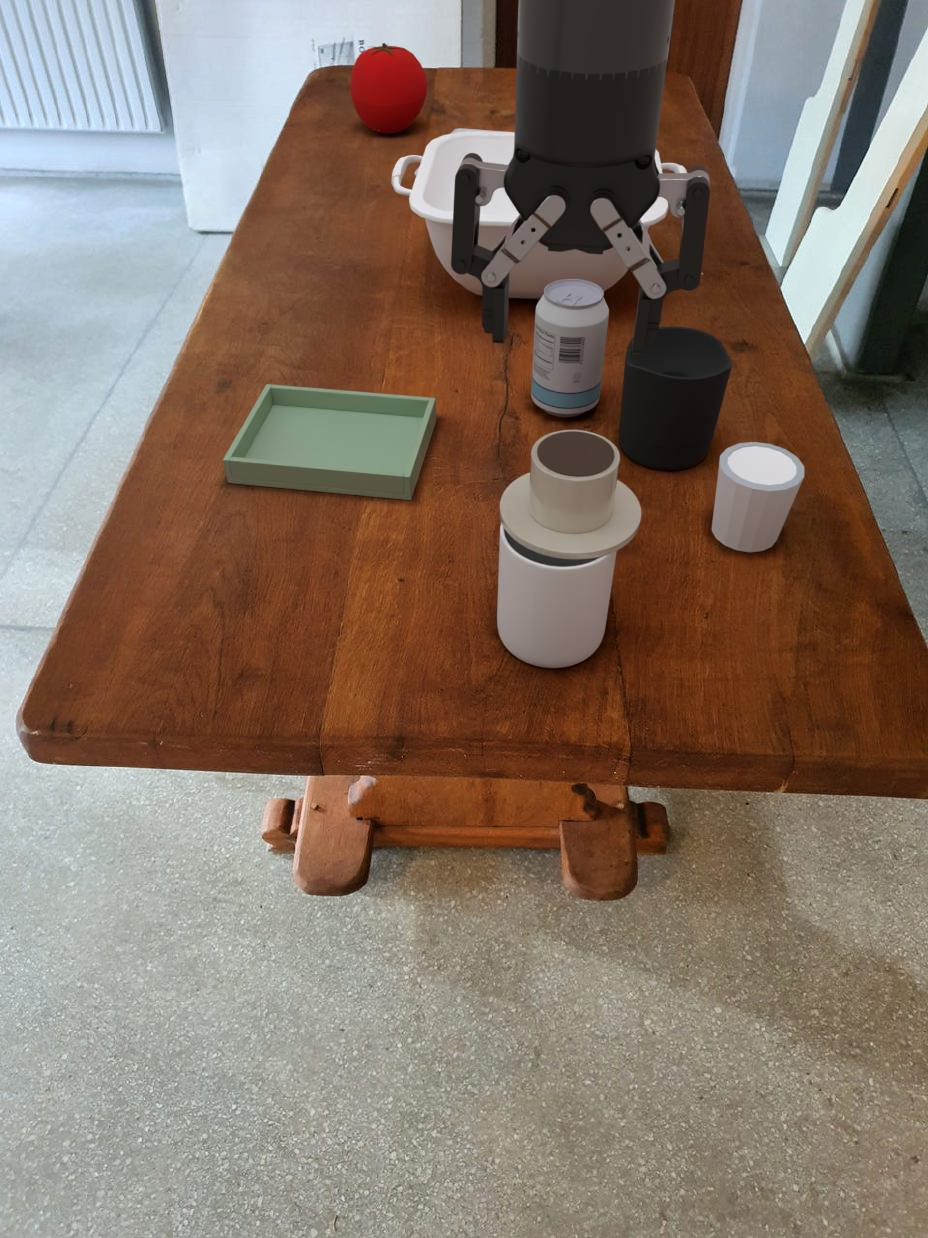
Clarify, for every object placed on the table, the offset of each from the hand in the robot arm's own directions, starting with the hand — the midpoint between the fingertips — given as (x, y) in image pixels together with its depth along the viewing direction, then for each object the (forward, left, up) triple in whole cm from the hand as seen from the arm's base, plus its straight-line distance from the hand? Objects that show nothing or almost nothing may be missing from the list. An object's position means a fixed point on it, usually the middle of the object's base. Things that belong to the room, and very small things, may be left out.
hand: (568, 342), depth 58 cm
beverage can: (-1, +31, -23) cm, 39 cm away
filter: (+1, 0, -13) cm, 13 cm away
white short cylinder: (+16, +13, -23) cm, 31 cm away
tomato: (-36, +111, -23) cm, 119 cm away
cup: (+1, 0, -23) cm, 23 cm away
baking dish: (-7, +60, -23) cm, 64 cm away
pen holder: (+9, +25, -23) cm, 35 cm away
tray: (-22, +19, -23) cm, 37 cm away
